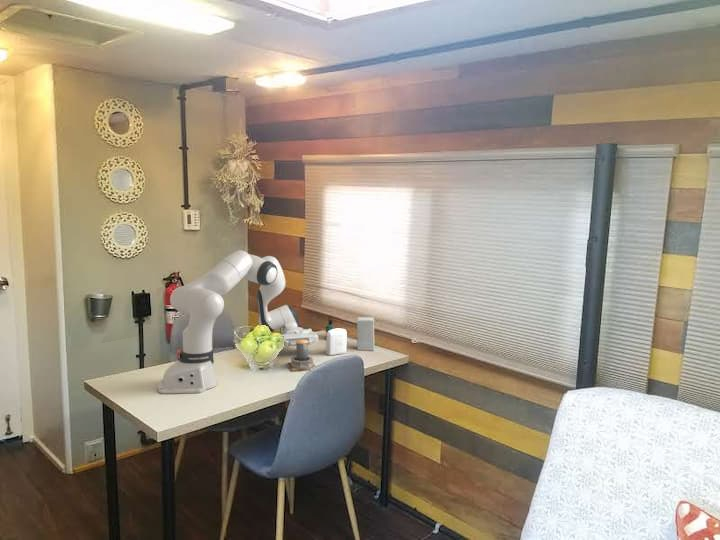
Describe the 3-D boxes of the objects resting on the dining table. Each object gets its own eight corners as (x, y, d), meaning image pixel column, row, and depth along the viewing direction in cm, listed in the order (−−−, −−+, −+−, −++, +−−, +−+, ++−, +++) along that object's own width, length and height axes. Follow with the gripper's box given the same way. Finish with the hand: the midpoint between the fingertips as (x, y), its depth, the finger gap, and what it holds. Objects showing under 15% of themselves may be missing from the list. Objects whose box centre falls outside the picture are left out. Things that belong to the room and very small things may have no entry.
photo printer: (343, 351, 266) (343, 326, 264) (347, 353, 263) (348, 328, 261) (324, 354, 260) (325, 329, 259) (329, 356, 257) (329, 330, 255)
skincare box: (374, 347, 273) (375, 316, 271) (373, 351, 266) (374, 319, 264) (357, 346, 274) (358, 316, 272) (356, 350, 267) (356, 319, 265)
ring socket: (291, 371, 234) (291, 363, 233) (287, 364, 244) (287, 356, 243) (316, 369, 237) (316, 361, 236) (311, 362, 247) (311, 354, 247)
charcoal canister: (297, 367, 237) (297, 342, 236) (295, 364, 242) (295, 339, 240) (308, 366, 239) (308, 342, 237) (306, 363, 243) (306, 339, 242)
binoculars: (345, 322, 284) (326, 321, 282) (343, 342, 285) (324, 340, 284) (344, 318, 292) (325, 317, 291) (341, 337, 294) (323, 336, 293)
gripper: (271, 331, 257) (276, 338, 244) (314, 328, 263) (320, 335, 250) (272, 343, 258) (276, 352, 245) (314, 340, 264) (320, 348, 251)
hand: (299, 343), depth 248 cm, fingers open, 8 cm apart
